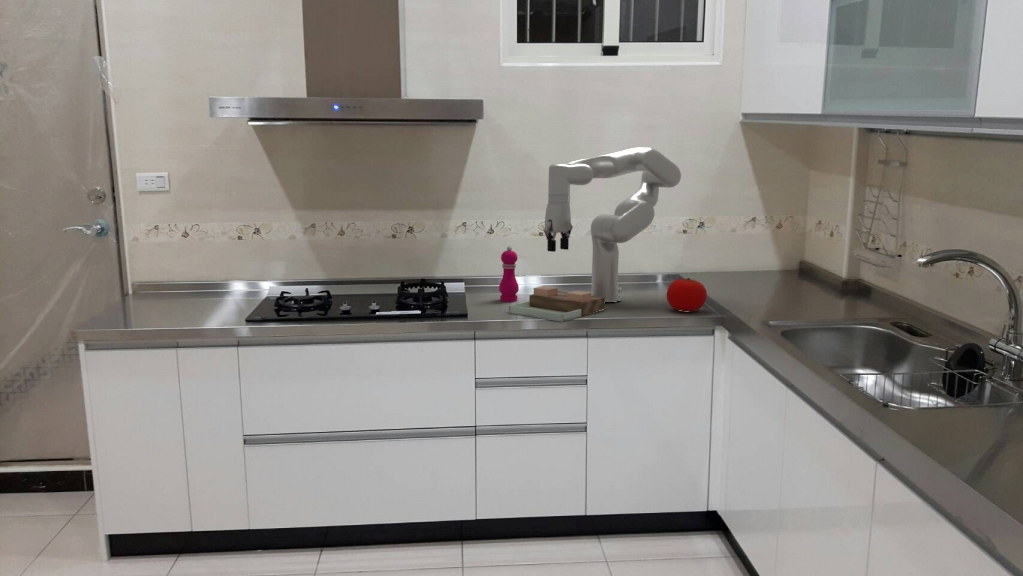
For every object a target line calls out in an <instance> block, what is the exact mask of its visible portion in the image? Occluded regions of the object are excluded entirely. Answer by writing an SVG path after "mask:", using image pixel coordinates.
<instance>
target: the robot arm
mask: <svg viewBox="0 0 1023 576" xmlns="http://www.w3.org/2000/svg"><path fill="white" fill-rule="evenodd" d="M635 172H642V173H641V179H640V180H641V181H640V186H639V188H638V190H636V191H635V192H634V193H633V194H631V195H630V196H629V197H627V198H626V199H624V200H623V201H621V202H620V203H618V205H617V206H616V208H615V210H614V214H605V213H603V214H600V215H599V214H598V215H597V216H596V217H594V219H592V222H591V224H590V235H591V242H592V257H591V258H592V260H591V261H592V263H591V264H592V265H591V292H590V293H591V296H598V297H605V302H613V301H619V300H621V301H622V297H621V296H620V295H618V294H619V293H622V292H623V288H622V287H620V286H618V283H619V282H618V280H619V259H620V257H619V254H620V252H619V246H618V244H624V243H627V242H628V241H630V240H632V239H634V238H635V237H636V236H637V235H639V234H640V233H641V232H644V230H646V228H648V227H649V226H650V225H651V224H652V222H653V221H654V218H655V209H654V207H655V206H656V205H657V203H658V201H659V194H660V188H667V189H669V188H674V187H676V186H678V184H680V181H681V179H682V172H681V170H680V168H679V167H678V166H677V164H675V163H674V162H673V161H671V159H669V158H667V157H666V156H665V155H664V154H662V153H661V152H660V151H658V150H657V149H655V148H652V147H632V148H631V147H630V148H627V149H624V150H621V151H616V152H612V153H608V154H603V155H598V156H594V157H588V158H582V159H578V160H575V161H574V160H573V161H571V162H567V163H559V164H558V163H554V164H551V165H550V166H549V167H548V189H547V190H548V196H547V198H548V199H547V200H548V201H547V204H546V209H545V217H544V228H543V233H544V235H545V237H546V240H547V248H546V249H547V252H553V253H555V252H556V250H557V247H556V246H557V240H555V239H556V237H557V234H558V233H560V236H561V237H560V239H559V241H560V242H559V244H560V245H559V249H560V250H569V243H570V242H569V239H570V237H571V236H570V235H571V233H572V230H573V225H572V223H571V222H572V219H571V218H572V216H571V213H572V212H571V207H570V204H571V203H570V201H571V200H570V199H571V185H573V186H574V185H575V186H585V185H589V184H590V183H591V182H592V181H593V179H611V178H616V177H619V176H623V175H626V174H631V173H635Z"/></svg>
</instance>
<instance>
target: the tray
mask: <svg viewBox="0 0 1023 576" xmlns="http://www.w3.org/2000/svg"><path fill="white" fill-rule="evenodd" d="M508 313H509V314H514V315H520V316H524V317H525V316H526V317H531V318H532V317H533V318H538V319H543V320H550V321H555V322H561V323H563V322H568V321H571V320H574V318H575V319H578V318H581V317H582V316H581V309H578V310H574V311H571V312H567V313H566V312H560V311H554V310H548V309H542V308H536V307H530V301H529V300H527V301H523V302H519V303H515V304H509V305H508ZM580 316H581V317H580ZM577 317H578V318H577Z"/></svg>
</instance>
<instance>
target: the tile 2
mask: <svg viewBox="0 0 1023 576" xmlns="http://www.w3.org/2000/svg"><path fill="white" fill-rule="evenodd" d="M567 292H568V293H567V300H569V301H576V302H585V301H589V300H591V292H589V291H582V290H573V291H567Z"/></svg>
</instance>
